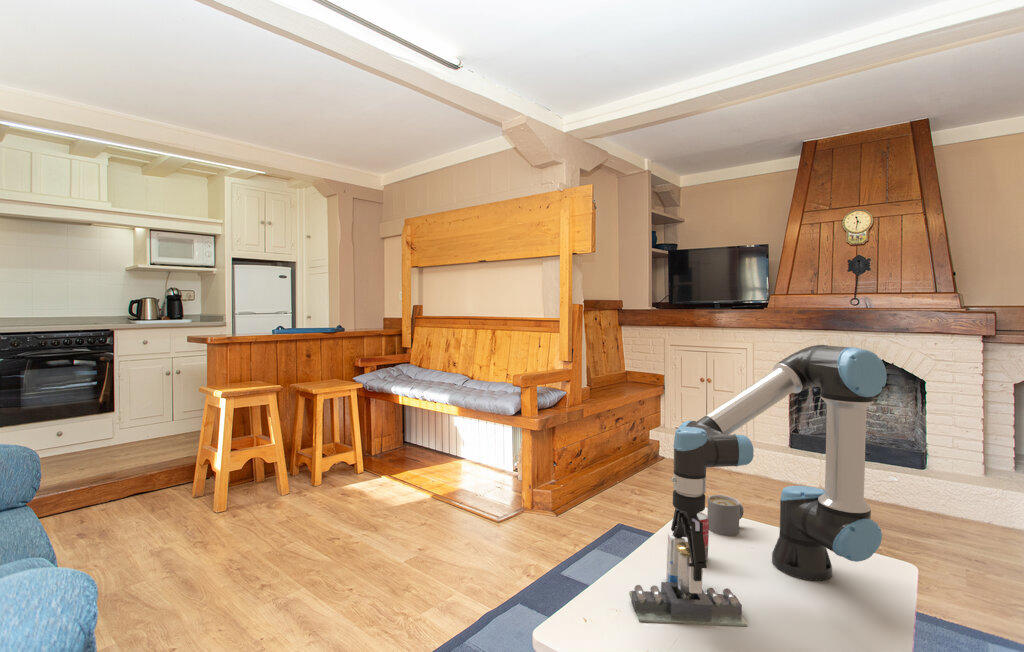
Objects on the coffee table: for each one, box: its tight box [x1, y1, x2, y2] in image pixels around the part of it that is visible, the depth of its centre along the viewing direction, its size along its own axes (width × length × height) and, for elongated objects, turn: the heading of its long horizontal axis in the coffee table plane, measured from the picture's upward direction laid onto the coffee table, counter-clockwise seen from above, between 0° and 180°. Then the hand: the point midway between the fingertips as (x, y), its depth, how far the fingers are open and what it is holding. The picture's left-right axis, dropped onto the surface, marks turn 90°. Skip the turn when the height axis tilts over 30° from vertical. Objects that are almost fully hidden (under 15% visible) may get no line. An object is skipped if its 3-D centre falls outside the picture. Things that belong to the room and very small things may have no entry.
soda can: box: [697, 512, 710, 561], centre depth 152 cm, size 7×7×13 cm
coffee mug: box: [706, 494, 745, 537], centre depth 173 cm, size 13×10×10 cm
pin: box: [676, 542, 694, 600], centre depth 126 cm, size 5×5×15 cm
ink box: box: [666, 532, 688, 583], centre depth 138 cm, size 9×5×12 cm, turn 169°
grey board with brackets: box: [628, 581, 748, 627], centre depth 126 cm, size 26×12×4 cm, turn 88°
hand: (686, 577), depth 126 cm, fingers open, 13 cm apart
